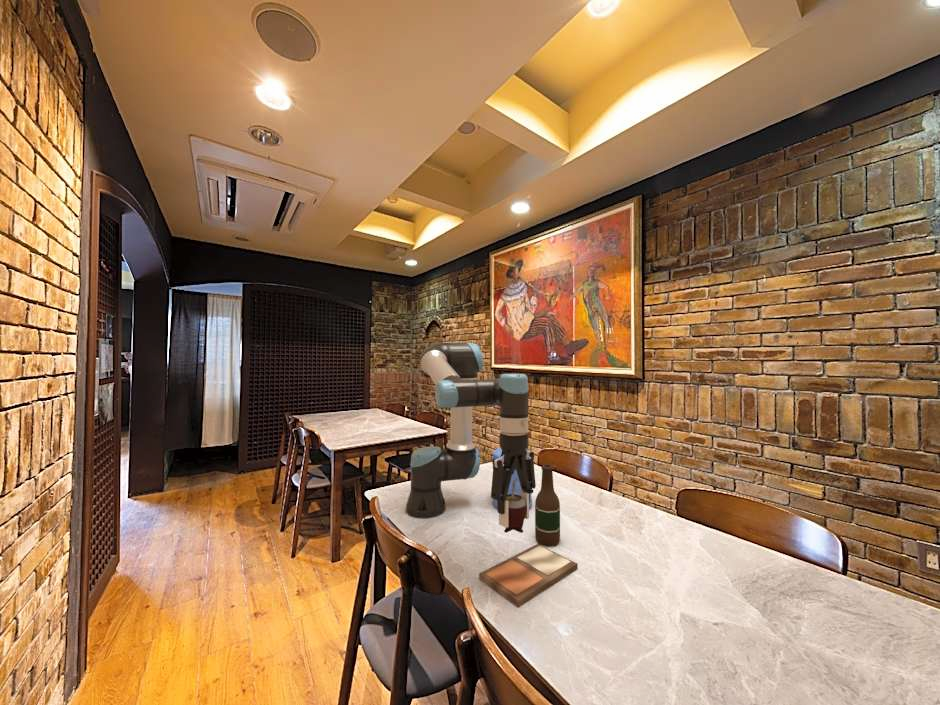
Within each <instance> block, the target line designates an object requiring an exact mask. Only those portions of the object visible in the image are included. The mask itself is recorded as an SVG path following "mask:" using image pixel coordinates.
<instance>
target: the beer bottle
mask: <svg viewBox="0 0 940 705" xmlns="http://www.w3.org/2000/svg"><path fill="white" fill-rule="evenodd" d="M553 470H554V466H552V465H551V464H542V466H541V482H540V483H541V486H540V489H539V490H540V491H539V492H538V493H537V495H536V498H535V503H534V508H535V509H534V519H535V520H534V527H535V528H534V534H535V536H534V537H535V540H536V542H537V544H539V545H541V546H543V547H546V548H549V547H556V546H558V544H559V543H560V541H561V502H560V499H559V496H558V494H556V492H555V488H554V475H553V473H554V472H553Z"/></svg>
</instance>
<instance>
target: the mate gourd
mask: <svg viewBox="0 0 940 705" xmlns="http://www.w3.org/2000/svg"><path fill="white" fill-rule="evenodd" d="M517 479H518V478H515V480H514V482H513V485H512V487H513V489H512V494H507V497H506V500H507V501H508V521H509V527H507V528H506V527H504V528H505V529H504V531H503V532H504V533H509V532H511V531H513V530H514V531H516V532H518V533H521V534H522V533H524V529H523V527H524V526H523V525H524V522H525V519H526V518H525V517H526V513H527V508H526V503H525V500H524V499H523V497H521V496H520V495H516V494H514V490H515V485H516V481H517Z"/></svg>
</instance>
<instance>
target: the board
mask: <svg viewBox="0 0 940 705" xmlns="http://www.w3.org/2000/svg"><path fill="white" fill-rule="evenodd" d="M577 570H578V563H577V562H575V561H573V560H571V559H570V558H567V557H565V556H564V555H561V554H559V553H557V552H555V551H553V550H551V549H549V548H548V547H546V546H543V545H540V544H539V543H537V544H535V545H532V546H531V547H529V548H526V549H524V550H523V551H520V552H519V553H516V554H514V555H513V556H511V557H509V558H507V559H505V560H503V561H501V562H499V563H497V564H495V565H493V566H491V567H489V568H487V569H485V570H483V571H480V572H479V573H478V579H479V580H480V581H481V582H482V583H483V584H485V585H486V586H488V587H489V588H491V589H492V590H494V592H496V593H498V594H499V595H500V596H501V597H503V598H505V599H506V600H508V601H509V602H511V604H513V605H514V606H516V607H517V608H520V607H521V606H523V605H524V604H526V603H527V602H529V601H530V600H532V599H534V598H535V597H537V596H539V594H541V593H543V592H544V591H547V590H548V589H549V588H551V587H552V586H554V585H556V584H557V583H559V582H560V581H562V580H563V579H565V578H566V577H568V576H569V575H571V574H572V573H574V572H576V571H577Z"/></svg>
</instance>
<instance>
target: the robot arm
mask: <svg viewBox="0 0 940 705" xmlns="http://www.w3.org/2000/svg"><path fill="white" fill-rule="evenodd" d="M482 352H483V351H482V350H481V347H480V346H479V345H478V344H477V343H473V342H443V341H442V342H441V341H440V342H435V343H433V344H431V345H428V346H427V347H425V349H424V350H423V351H422V352H421V353H420V358H419V366H420V368H421V370H422V371H423V372H424V374H426V375H428V376H429V377H430V379H431V380H432V382H433V384H434V385H435V387H434V397H435V398H434V399H435V404H436V405H437V407H439V408H448V409H450V431H449V432H450V434H449V441H448V442H447V443H445V444H446V445H445V449H442V448H441V447H440V446H436V445H434V446H433V445H430V446H424V447H420V448H418V449H415V450H414V451H413V452H412V453H411V455H410V456H411V457H410V464H409V465H410V492H409V495H408V498H407V502H406V504H405V512H406V514H407V515H408V516H411V517H413V518H418V519H427V518H429V519H430V518H433V517H438V516H440V515H442V514H444V513H445V512H446V508H447V506H446V501H445V497H444V494H443V491H442V482H448V481H458V480H467V479H473V478H475V477H476V476H477V474H478V473H479V471H480V466H481V457H480V456H481V455H480V451H479V449H478V448H477V447H476V444H475V443H474V442H473V440H472V436H473V410H474V409H473V407H474V408H475V407H496V406H497V407H499V432H500V433H499V448H501V449H502V453H501V456H500V458H498V459H493V460H491V464H492V479H491V491H490V498H491V499H492V498H493V499H495V500H497V508H496V509H497V513H498V525H500V526H502V527H504V528H505V527H506V528H507V527H509V521H508V501H507V500H506V497H507V493H508V489H509V485H510V481H511V477H512V475H513V474H514V470H515V469H516V471H517V474H518V478H519V481H520V485H521V488H522V490H523V491H519V495H520V496H521V497H523V499H524V500H525V503H526V508H527V513H526V517H525V519H526V520H528V519H530V508H529V504H530V493H531V494H533V493H534V489H536V484H537V483H536V475H535V463H534V462H535V460H534V459H535V452H533V451H530V450H528V448H529V434H528V432H529V390H530V387H529V380H528V379H529V377H528V375H526V374H524V373H502V374H500V376H499V378H491V379H477V378H478V374H479V373H482V371H483V368H484V358H483V353H482ZM526 450H528V451H526ZM506 468H507V469H510V470H507V469H506ZM530 482H531V483H530ZM501 494H502V495H501Z"/></svg>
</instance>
